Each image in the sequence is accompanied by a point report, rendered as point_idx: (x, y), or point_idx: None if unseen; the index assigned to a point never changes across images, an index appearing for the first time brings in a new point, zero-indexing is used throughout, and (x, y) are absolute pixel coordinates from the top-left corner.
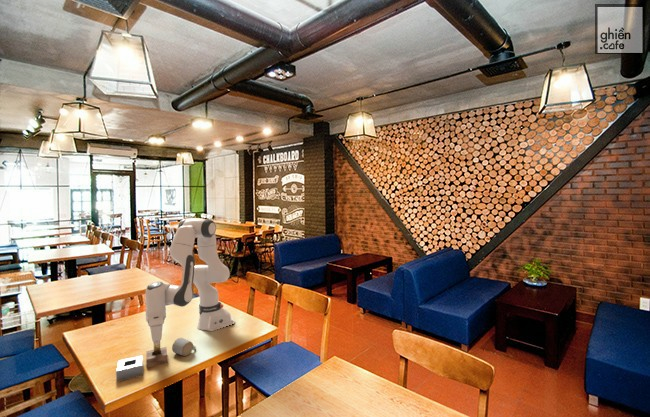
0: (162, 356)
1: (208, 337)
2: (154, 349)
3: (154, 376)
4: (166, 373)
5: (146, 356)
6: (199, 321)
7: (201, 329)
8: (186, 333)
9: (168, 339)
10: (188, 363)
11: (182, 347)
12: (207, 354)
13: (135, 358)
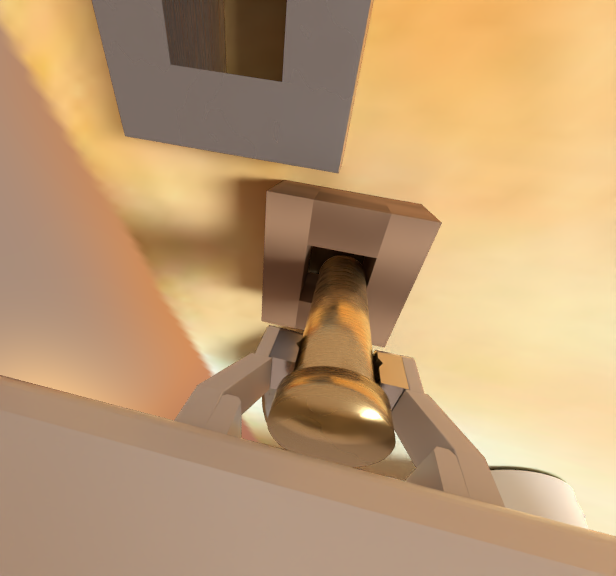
0: (264, 295)
1: (394, 452)
2: (325, 286)
3: (155, 203)
4: (167, 261)
5: (326, 203)
6: (550, 518)
7: (495, 471)
8: (537, 434)
9: (576, 370)
10: (219, 348)
11: (267, 397)
12: (255, 405)
13: (304, 77)
